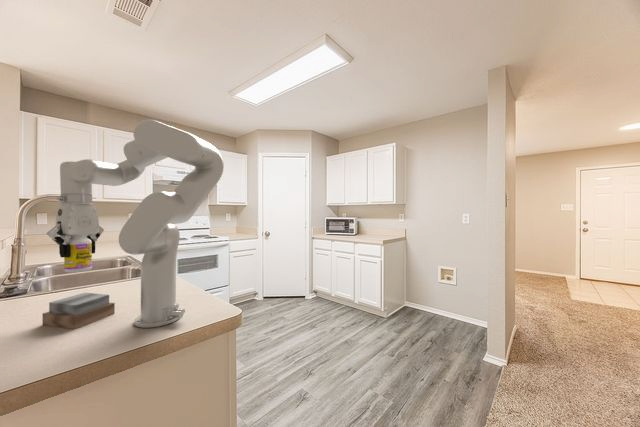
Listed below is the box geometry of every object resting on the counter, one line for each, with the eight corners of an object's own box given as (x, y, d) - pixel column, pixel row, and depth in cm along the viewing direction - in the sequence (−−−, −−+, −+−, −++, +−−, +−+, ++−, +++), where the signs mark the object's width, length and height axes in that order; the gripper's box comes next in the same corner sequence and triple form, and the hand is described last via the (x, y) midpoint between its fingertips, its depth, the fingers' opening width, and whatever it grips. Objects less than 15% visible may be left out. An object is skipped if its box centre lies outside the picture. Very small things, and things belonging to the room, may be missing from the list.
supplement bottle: (75, 273, 82) (73, 232, 81) (58, 272, 83) (57, 232, 83) (97, 268, 88) (96, 230, 88) (82, 268, 90) (81, 230, 89)
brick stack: (114, 313, 88) (114, 294, 88) (74, 329, 76) (74, 306, 76) (85, 310, 90) (85, 291, 90) (42, 325, 78) (42, 303, 78)
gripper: (53, 198, 76) (55, 260, 76) (112, 201, 93) (113, 251, 93) (34, 199, 78) (36, 259, 78) (95, 201, 95) (97, 251, 95)
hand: (78, 254), depth 86 cm, fingers closed on supplement bottle, 6 cm apart
